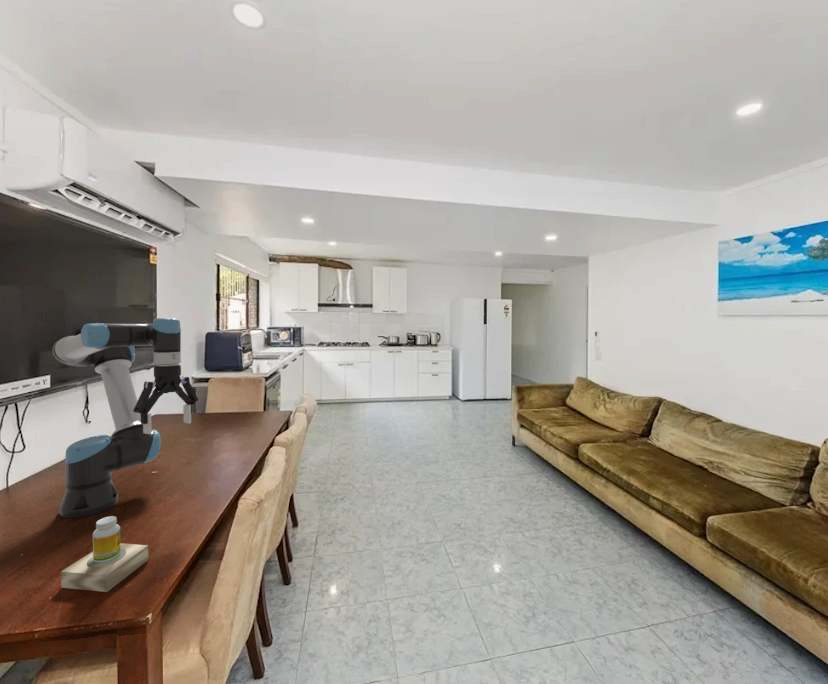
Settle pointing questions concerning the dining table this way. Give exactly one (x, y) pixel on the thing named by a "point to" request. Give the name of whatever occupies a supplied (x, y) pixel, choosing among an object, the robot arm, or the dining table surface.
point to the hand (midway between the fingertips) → (168, 428)
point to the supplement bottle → (106, 540)
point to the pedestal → (104, 569)
